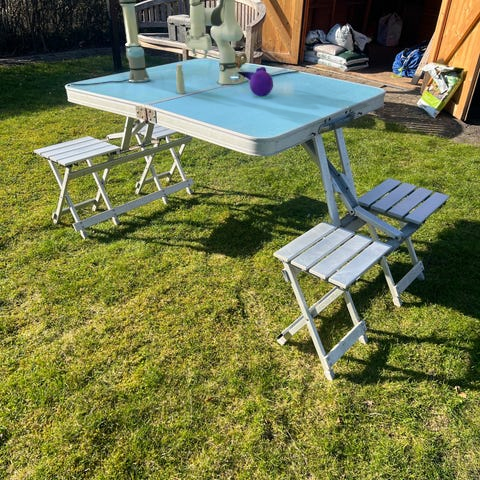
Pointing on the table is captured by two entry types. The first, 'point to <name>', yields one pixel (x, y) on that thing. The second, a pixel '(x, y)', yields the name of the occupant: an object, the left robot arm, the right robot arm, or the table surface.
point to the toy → (259, 81)
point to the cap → (179, 66)
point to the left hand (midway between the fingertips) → (196, 35)
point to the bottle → (180, 81)
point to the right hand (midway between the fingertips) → (199, 57)
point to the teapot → (238, 59)
